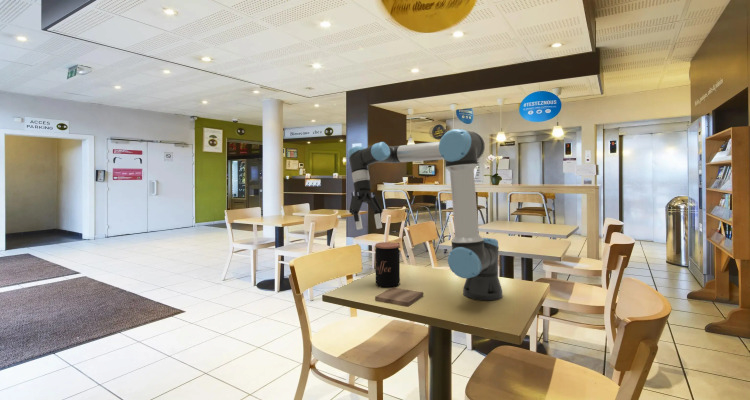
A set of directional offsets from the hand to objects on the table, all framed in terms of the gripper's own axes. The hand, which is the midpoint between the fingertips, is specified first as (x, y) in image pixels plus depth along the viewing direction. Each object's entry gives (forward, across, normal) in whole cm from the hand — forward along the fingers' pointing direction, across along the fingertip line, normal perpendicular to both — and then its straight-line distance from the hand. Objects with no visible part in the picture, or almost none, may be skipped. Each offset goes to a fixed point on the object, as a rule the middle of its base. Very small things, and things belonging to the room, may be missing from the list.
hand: (369, 228), depth 165 cm
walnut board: (+30, +4, +12) cm, 33 cm away
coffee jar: (+25, -8, -2) cm, 26 cm away
